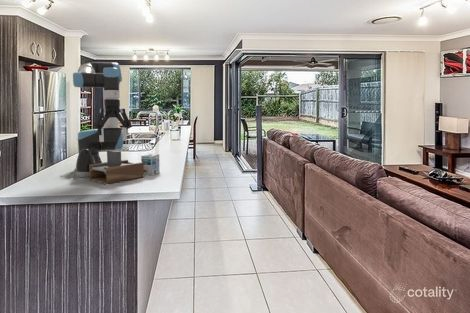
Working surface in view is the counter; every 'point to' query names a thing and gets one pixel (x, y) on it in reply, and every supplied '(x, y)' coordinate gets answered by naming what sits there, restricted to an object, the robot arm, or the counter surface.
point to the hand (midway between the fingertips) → (113, 140)
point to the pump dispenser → (84, 163)
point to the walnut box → (117, 172)
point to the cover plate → (111, 160)
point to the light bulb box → (150, 164)
